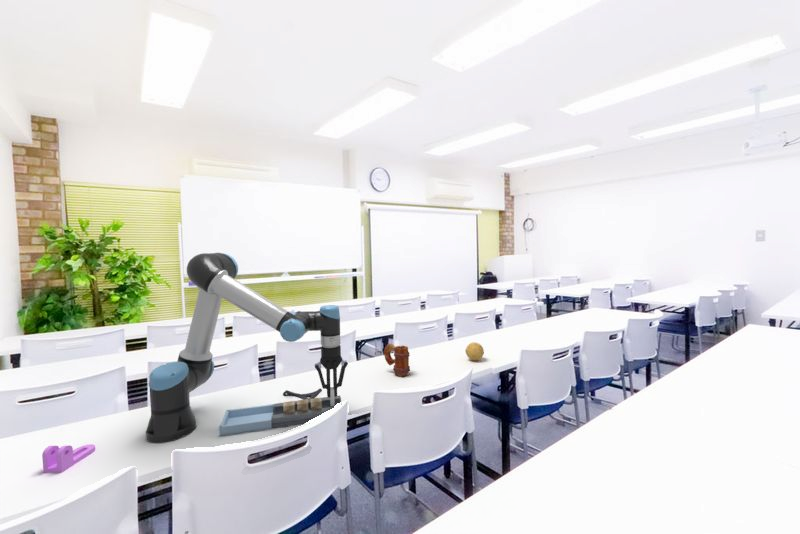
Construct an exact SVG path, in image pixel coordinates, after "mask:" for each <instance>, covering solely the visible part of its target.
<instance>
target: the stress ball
mask: <svg viewBox="0 0 800 534" xmlns="http://www.w3.org/2000/svg"><path fill="white" fill-rule="evenodd" d="M465 354H466V356H467V358H469V359H470V360H471V361H473V362H477V361H479V360H481V359H482V358H483V356H484V354H485V349H484V348H483V345H482V344H480V343H478V342H471V343H469V344H468V345H467V346H466V348H465Z"/></svg>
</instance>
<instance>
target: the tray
mask: <svg viewBox="0 0 800 534" xmlns="http://www.w3.org/2000/svg"><path fill="white" fill-rule="evenodd" d="M273 404H274V403H270V404H264V405H255V406H249V407H247V406H246V407H238V408H233V409H232V408H231V409H226V410H225V413H224V415H223V418H222V419H221V422H220V424H219V427H218V432H219V433H218V434H219V437H225V436H233V435H241V434H245V433H253V432H259V431H266V430H273V429H272V422H271V418H272V415H273Z"/></svg>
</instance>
